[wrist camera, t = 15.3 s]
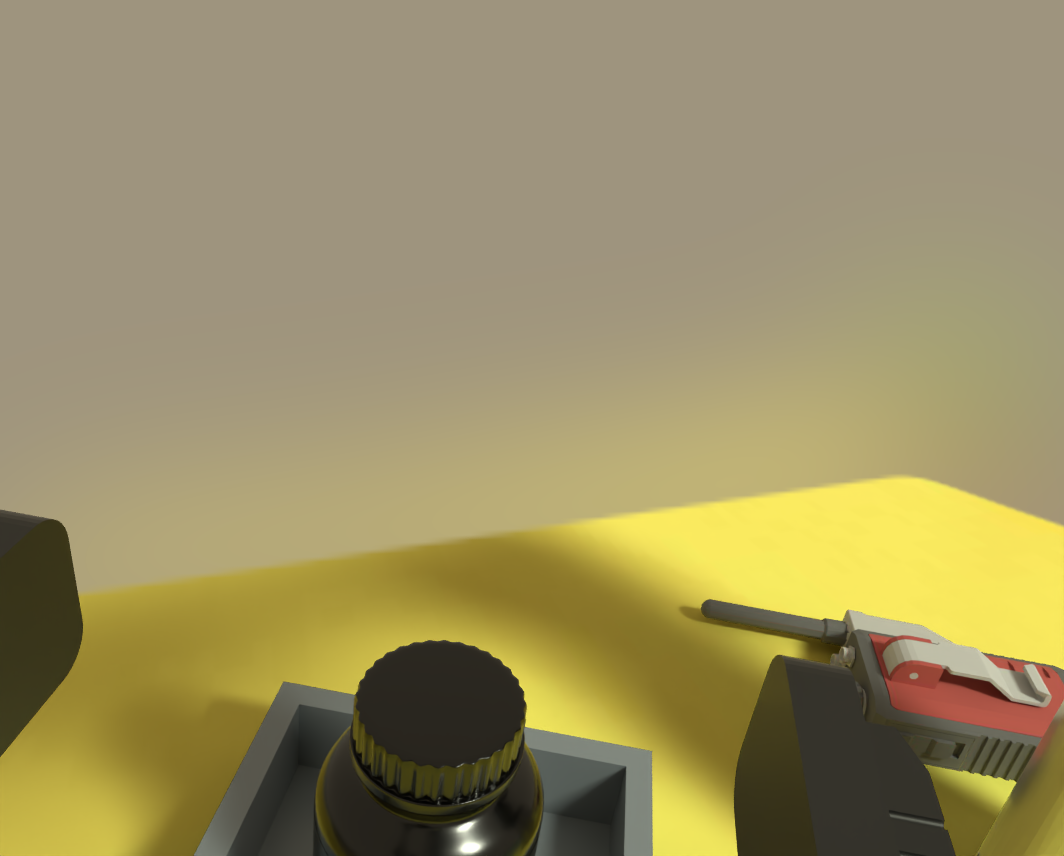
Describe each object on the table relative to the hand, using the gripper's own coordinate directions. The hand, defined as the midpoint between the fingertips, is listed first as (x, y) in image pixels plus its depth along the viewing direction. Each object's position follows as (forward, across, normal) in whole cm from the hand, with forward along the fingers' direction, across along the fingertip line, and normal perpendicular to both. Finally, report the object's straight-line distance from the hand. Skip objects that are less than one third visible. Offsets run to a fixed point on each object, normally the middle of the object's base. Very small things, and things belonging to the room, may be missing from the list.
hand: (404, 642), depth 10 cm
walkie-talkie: (+28, -20, +26) cm, 43 cm away
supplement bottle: (+10, +1, +24) cm, 26 cm away
